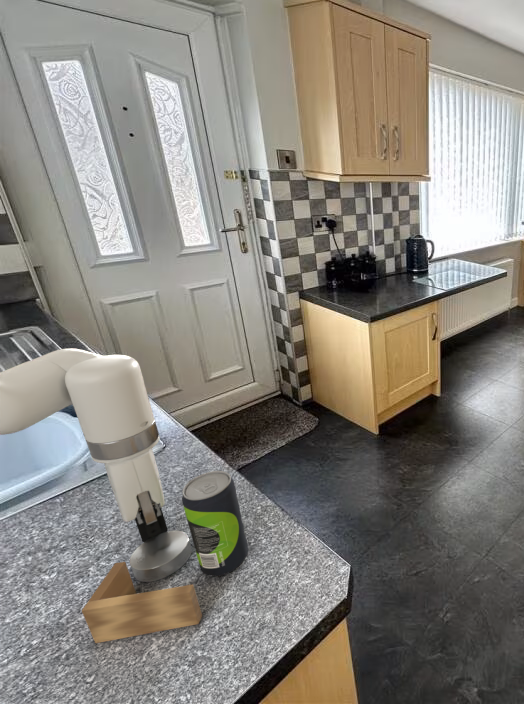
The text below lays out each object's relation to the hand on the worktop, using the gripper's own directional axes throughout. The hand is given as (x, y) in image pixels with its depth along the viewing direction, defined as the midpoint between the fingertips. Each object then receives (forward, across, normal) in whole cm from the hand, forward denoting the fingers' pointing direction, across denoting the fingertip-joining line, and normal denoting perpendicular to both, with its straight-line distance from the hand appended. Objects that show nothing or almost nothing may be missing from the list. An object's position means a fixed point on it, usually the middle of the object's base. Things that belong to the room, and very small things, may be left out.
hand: (154, 534), depth 67 cm
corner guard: (+2, +14, -2) cm, 14 cm away
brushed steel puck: (+2, +5, 0) cm, 5 cm away
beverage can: (+2, +12, +6) cm, 13 cm away
